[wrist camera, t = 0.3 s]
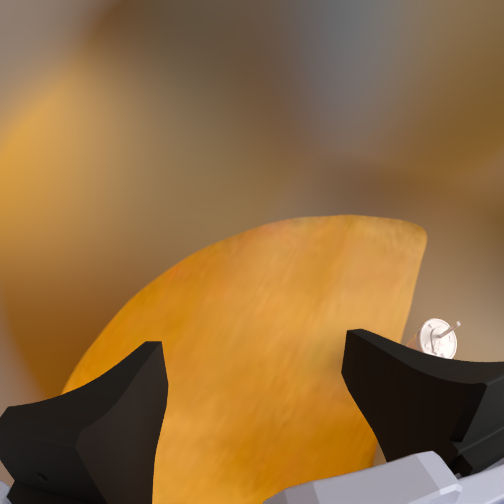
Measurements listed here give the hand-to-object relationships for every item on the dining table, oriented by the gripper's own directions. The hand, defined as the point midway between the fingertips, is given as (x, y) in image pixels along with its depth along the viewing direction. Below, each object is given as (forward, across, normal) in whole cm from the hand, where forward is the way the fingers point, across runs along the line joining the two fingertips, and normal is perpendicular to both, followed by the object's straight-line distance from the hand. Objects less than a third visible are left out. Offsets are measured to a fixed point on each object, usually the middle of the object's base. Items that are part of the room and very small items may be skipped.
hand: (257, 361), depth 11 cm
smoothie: (+24, -26, +19) cm, 40 cm away
